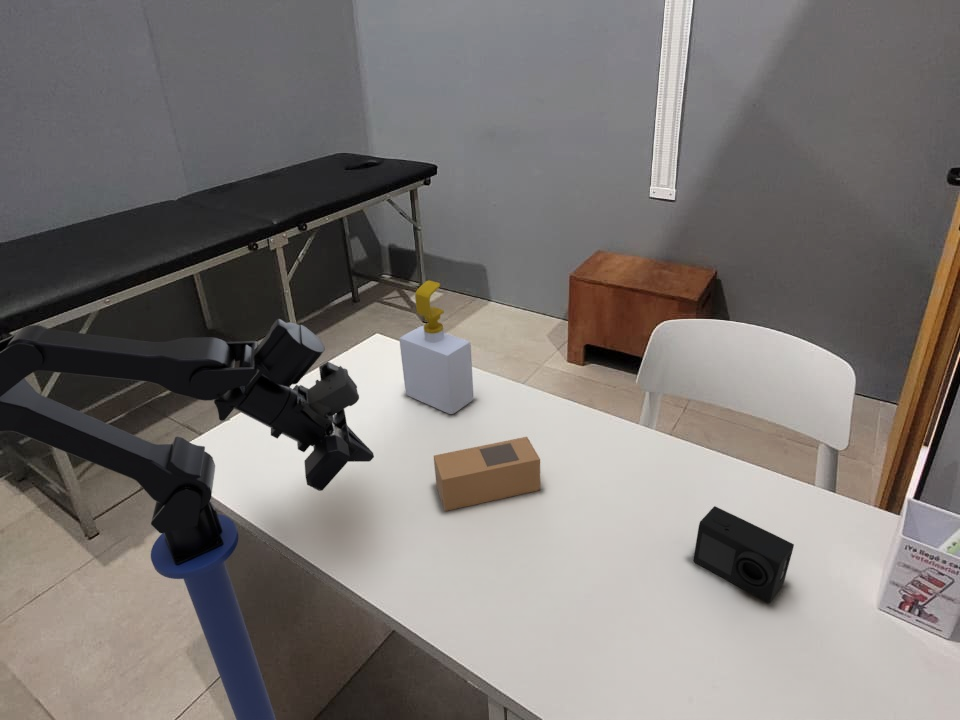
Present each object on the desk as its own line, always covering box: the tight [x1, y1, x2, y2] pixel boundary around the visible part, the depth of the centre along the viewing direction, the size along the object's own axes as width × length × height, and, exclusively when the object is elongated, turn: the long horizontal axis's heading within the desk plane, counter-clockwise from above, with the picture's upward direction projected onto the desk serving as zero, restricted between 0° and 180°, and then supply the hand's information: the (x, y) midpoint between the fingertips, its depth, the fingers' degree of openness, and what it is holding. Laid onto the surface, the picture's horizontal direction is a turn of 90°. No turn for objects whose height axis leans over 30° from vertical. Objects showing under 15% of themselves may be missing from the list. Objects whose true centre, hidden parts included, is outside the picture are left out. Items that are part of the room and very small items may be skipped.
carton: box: [433, 436, 541, 512], centre depth 99 cm, size 6×6×15 cm
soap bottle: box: [399, 279, 474, 415], centre depth 118 cm, size 12×7×23 cm, turn 51°
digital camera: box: [692, 505, 795, 604], centre depth 82 cm, size 10×5×7 cm, turn 46°
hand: (371, 457), depth 92 cm, fingers closed
